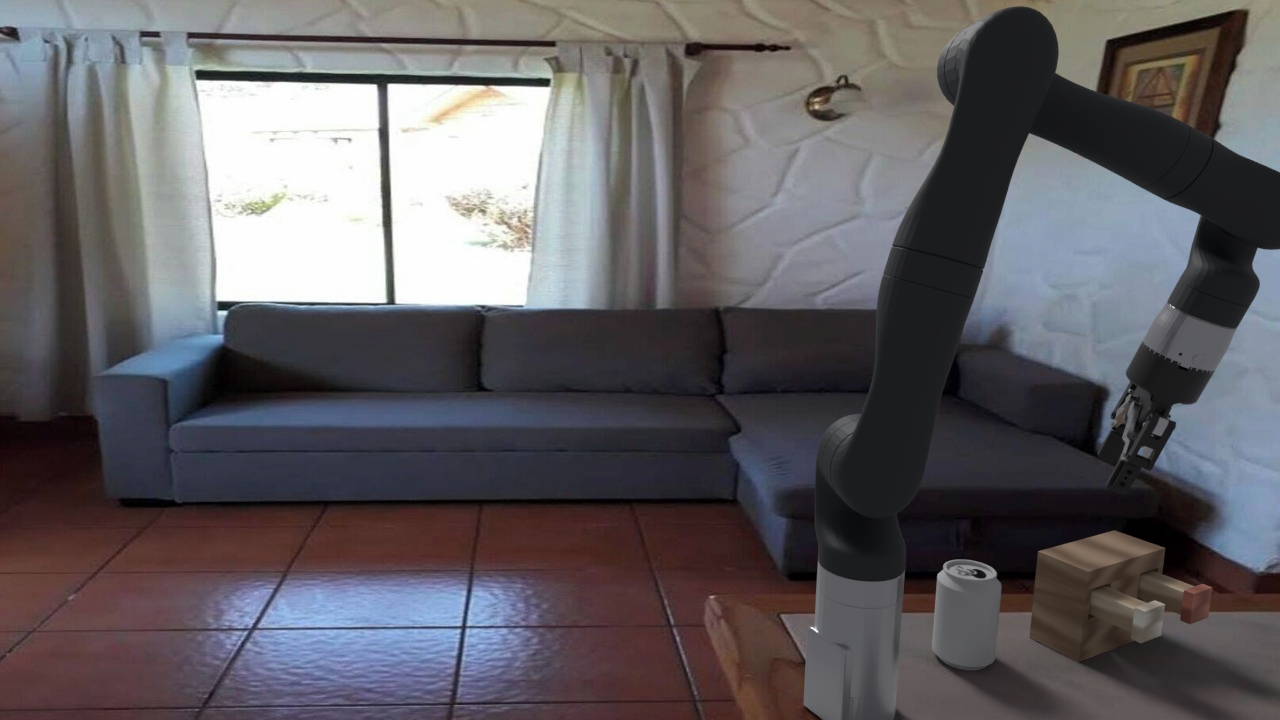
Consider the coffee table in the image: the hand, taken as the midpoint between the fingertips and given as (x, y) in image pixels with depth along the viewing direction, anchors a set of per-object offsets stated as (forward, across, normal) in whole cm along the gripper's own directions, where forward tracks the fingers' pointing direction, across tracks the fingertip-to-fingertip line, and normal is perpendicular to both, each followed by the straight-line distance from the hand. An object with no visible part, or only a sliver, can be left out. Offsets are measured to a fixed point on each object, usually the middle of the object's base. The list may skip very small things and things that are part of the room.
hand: (1110, 475), depth 101 cm
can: (+28, +6, -6) cm, 29 cm away
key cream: (+18, 0, +9) cm, 20 cm away
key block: (+24, -7, +10) cm, 27 cm away
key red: (+17, -8, +15) cm, 24 cm away
